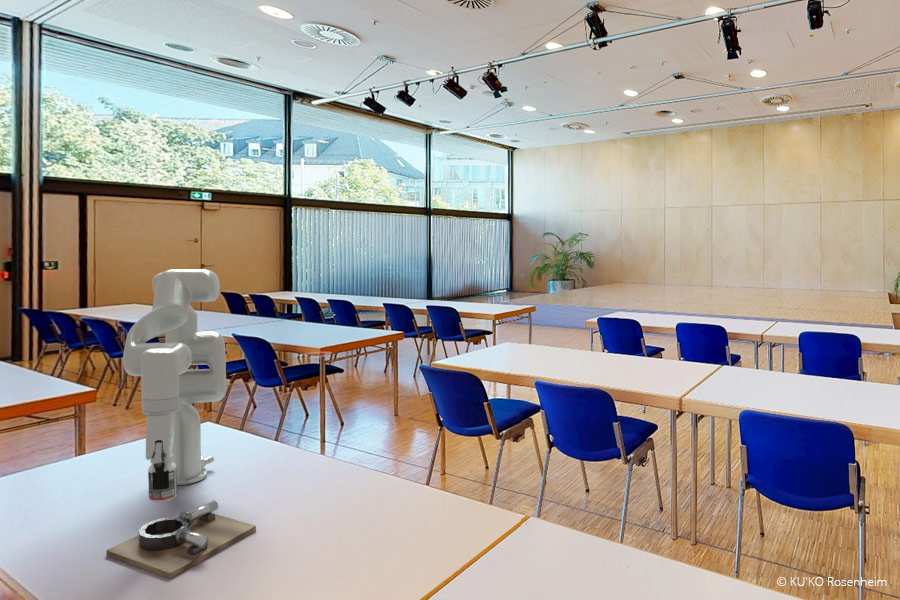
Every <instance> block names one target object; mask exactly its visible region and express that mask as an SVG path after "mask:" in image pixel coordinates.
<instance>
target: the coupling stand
mask: <svg viewBox="0 0 900 600" xmlns="http://www.w3.org/2000/svg"><path fill="white" fill-rule="evenodd" d="M218 509H219V503H218V501H216V500H212V501H210V502H209V501H208V502H206V503H205V504H203V505H201V506H198V507H197V508H196V507H195V508H194V509H191V510H190V511H188V510H184V511H182V512H180V513H179V516H177V517H175V516H173V517H171V516H169V517H167V516H166V517H163V518H157V519H153V520H152V521H149V522H146V523H144V524H143V525H141V527H139V529H138V531H137V533H138V535H137V536H134V537H132V538H130V539H127V540H126V541H123V542H122V543H119V544H117V545H115V546H112V547H110V548H108V549H106V556H107V557H110V558H113V559H114V560H118V561H121V562H124V563H126V564H129V565H131V566H134V567H137V568H140V569H142V570H145V571H148V572H150V573H153V574H156V575H159V576H162V577H165V578H167V579H170V580H171V579H173V578H174V577H177V576H179V575H180V574H182V573H183V572H185V571H187V570H189V569H191V568H193V567H194V566H196V565H197V564H199V563H201V562H203V561H204V560H206V559H208V558H210V557H212V556H214V555H215V554H218V553H219V552H221V551H222V550H224V549H226V548H227V547H229V546H232V545H233V544H235V543H237V542H238V541H240V540H243V539H244V538H245V537H247V536H249V535H251V534H252V532H253V533H254V532H256V531H257V525H254V524H251V523H247V522H244V521H241V520H237V519H234V518H231V517H227V516H223V515H220V514H216V513H213V512H215V511H217V510H218Z"/></svg>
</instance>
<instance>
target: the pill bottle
mask: <svg viewBox="0 0 900 600" xmlns="http://www.w3.org/2000/svg"><path fill="white" fill-rule="evenodd" d="M162 457H165V454H162ZM172 460H173V453H171V455H170V457H169V458H168V459H167V470H169V488H168V489H161V490H153V481H152V472H153V455H152V458H151V459H149V462H150V464H151V465H149V466H148V471H147V473H148V475H147V476H148V477H147V478H148V479H147V480H148V481H147V482H148V499H149V501H150V502H152V503H166V502H170V501H172V500H174V499H176V497H177V494H178V489H177V488H178V487H177V486H178V485H177V478H176V464H175V463H174V462H172ZM162 462H163V463H164V460H162Z"/></svg>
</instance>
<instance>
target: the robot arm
mask: <svg viewBox="0 0 900 600" xmlns="http://www.w3.org/2000/svg"><path fill="white" fill-rule="evenodd" d="M151 283H152V291H153V294H154V295H153V302H152V309H151V311H149V312H147V313H146V314H145V315H144V316H142V317H140V319H138V320H137V321H136V322H135V323H134V324H132V326H131V327H130V329H129V331H128V333H127V336H126V339H125V343H124V350H123V355H122V367H123V369H124V371H125V373H126V374H127V375H129V376H132V377H140V381H141V384H140V385H141V413H142V414H144V415H145V416H146V420H145V421H146V422H145V459H146V460H147V461H150V459H151V458H152V455H153V472H152V481H153V490H161V489H168V488H169V470H167V459H168V458H169V457H170V455H171V453H173V460H172V462H174V463H175V464H176V478H177V486H183V485H191V484H194V483H197V482H199V481H202V480H203V479H206V477H207V475H208V470H207V469H206V468H205V467H206V466H207V465H208V464H211V463H213V462H214V461H215V458H214V456H213V455H210V456H207V457H204V456H202V437H201V436H202V435H201V429H202V428H201V416H200V413H199V412H198V409H196V408H195V406H193V405H192V404H196V403H197V404H198V403H211V402H212V403H213V402H219V401H221V400H223V399H224V398H225V396H226V393H227V392H226V391H227V369H226V368H227V364H226V363H227V360H226V358H227V357H226V356H227V355H226V344H225V339H224V336H223V335H222V333H220V332H217V331H199V330H198V314H197V312H196V311H195V309H194V308H193V306H192V305H191V303H208V302H209V303H213V302H215V301H216V300H217V299H218V298H219V295H220V289H221V285H220V279H219V277H218V275H217V274H216V272H214V271H212V270H208V269H184V268H183V269H182V268H181V269H179V268H178V269H176V268H175V269H168V270H165V271H162V272H160V273H157V274H155V275H154V276H153V277H152V281H151ZM162 335H165V336H164V338H165V342H149V343H148V341H150V340H152V339H154V338H156V337H159V336H162ZM195 365H196V366H198V365H201V366H202V365H205V366H208V367H209V368H203V369H202V368H201V369H200V368H199V369H189V368H190V367H191V366H195ZM162 454H165V457H162ZM162 460H164V463H163V462H162Z"/></svg>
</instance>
